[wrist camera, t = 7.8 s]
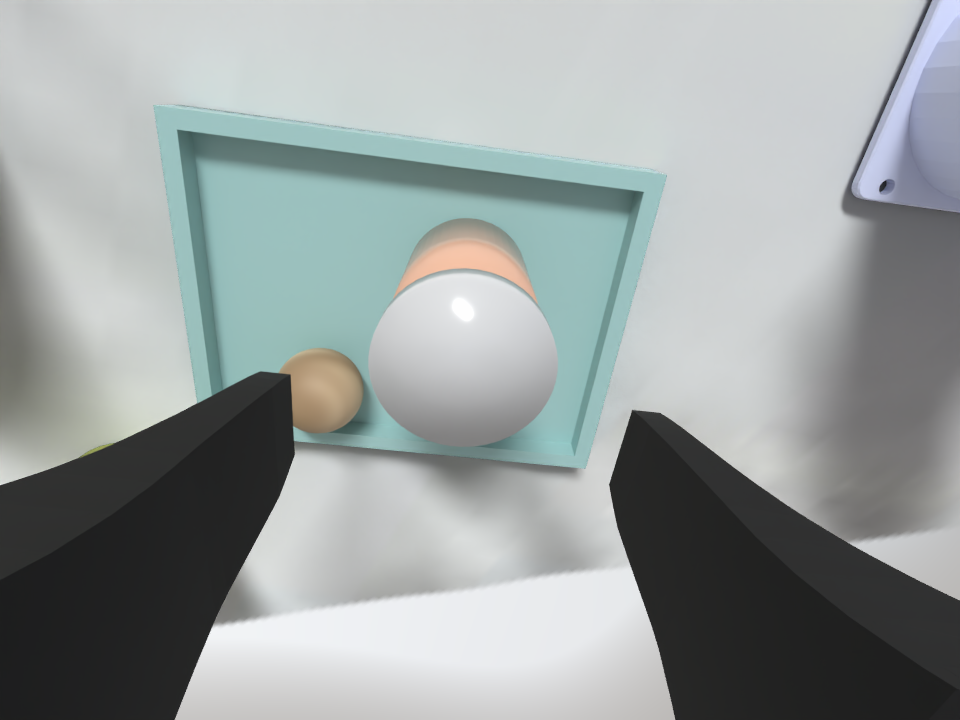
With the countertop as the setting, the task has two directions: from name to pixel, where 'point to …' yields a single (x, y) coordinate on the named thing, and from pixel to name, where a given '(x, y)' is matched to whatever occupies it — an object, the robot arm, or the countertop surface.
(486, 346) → the shaker
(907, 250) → the countertop surface
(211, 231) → the tray
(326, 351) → the ball
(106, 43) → the countertop surface
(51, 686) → the robot arm
